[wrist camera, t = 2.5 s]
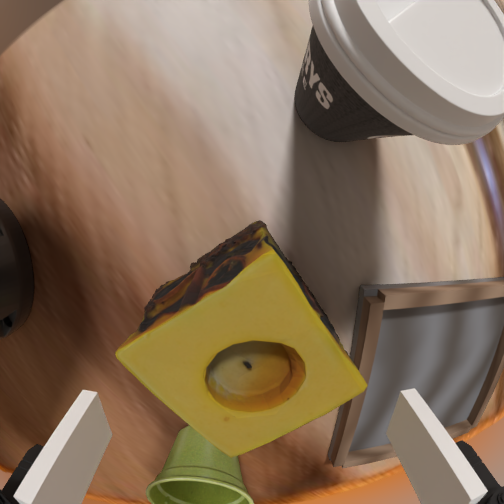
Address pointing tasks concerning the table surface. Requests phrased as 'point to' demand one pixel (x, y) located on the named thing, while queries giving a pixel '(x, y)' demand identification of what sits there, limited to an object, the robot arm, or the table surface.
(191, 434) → the plant pot
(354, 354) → the wooden serving tray
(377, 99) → the coffee cup
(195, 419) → the candle
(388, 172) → the table surface
